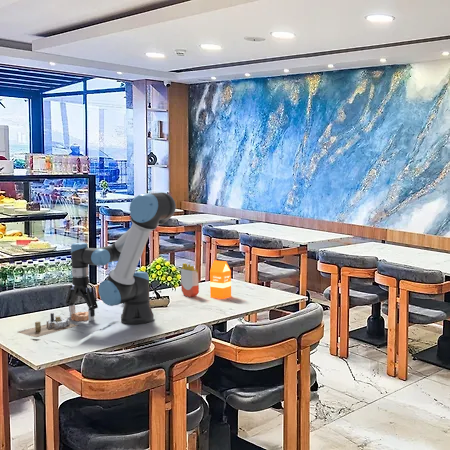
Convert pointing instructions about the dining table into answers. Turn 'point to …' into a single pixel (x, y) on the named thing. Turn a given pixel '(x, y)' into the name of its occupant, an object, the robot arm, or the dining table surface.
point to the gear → (59, 324)
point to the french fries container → (189, 280)
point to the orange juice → (220, 280)
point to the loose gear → (80, 316)
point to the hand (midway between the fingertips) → (82, 321)
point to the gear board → (43, 329)
